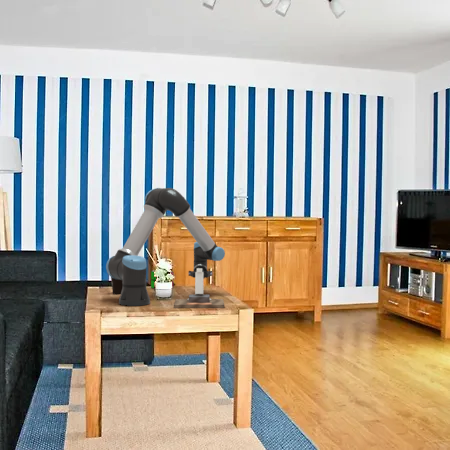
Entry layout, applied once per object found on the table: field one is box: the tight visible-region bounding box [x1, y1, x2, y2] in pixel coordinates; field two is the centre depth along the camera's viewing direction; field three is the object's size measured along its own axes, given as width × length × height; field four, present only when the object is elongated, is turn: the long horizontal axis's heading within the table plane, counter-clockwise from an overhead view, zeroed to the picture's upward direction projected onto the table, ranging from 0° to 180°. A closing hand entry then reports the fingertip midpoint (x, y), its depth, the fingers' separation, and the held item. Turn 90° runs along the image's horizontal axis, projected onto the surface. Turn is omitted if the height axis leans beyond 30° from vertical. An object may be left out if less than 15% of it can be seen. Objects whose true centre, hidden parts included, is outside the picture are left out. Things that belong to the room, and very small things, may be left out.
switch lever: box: [194, 268, 204, 295], centre depth 311 cm, size 4×3×13 cm, turn 92°
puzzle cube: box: [150, 270, 174, 289], centre depth 367 cm, size 10×10×10 cm
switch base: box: [173, 294, 225, 309], centre depth 308 cm, size 24×18×4 cm
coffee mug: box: [110, 276, 123, 295], centre depth 347 cm, size 12×9×10 cm
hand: (200, 276), depth 319 cm, fingers closed
